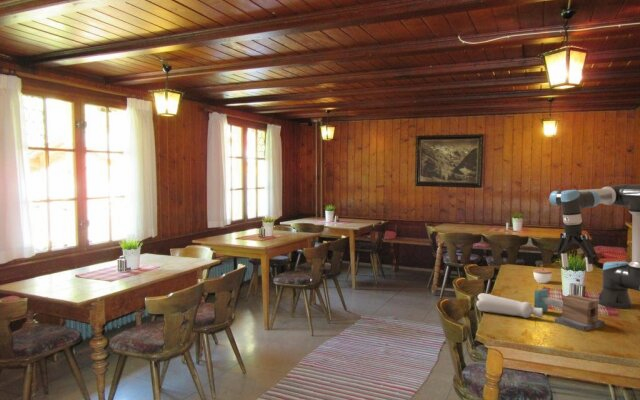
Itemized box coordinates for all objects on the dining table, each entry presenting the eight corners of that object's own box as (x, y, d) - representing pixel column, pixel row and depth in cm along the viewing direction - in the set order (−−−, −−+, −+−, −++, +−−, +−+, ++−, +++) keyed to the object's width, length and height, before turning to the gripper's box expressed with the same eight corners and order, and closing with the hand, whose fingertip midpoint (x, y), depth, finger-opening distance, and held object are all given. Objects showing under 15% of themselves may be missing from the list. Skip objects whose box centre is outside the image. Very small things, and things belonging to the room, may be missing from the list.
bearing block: (575, 317, 227) (576, 293, 226) (604, 325, 215) (605, 300, 214) (554, 322, 219) (555, 297, 218) (583, 331, 207) (584, 304, 206)
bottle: (474, 306, 233) (539, 318, 217) (478, 289, 237) (542, 300, 221) (478, 312, 240) (541, 325, 224) (481, 296, 244) (544, 307, 227)
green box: (544, 309, 237) (545, 288, 237) (578, 319, 221) (579, 297, 221) (534, 312, 233) (534, 290, 233) (568, 322, 218) (568, 299, 217)
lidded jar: (550, 285, 291) (551, 270, 290) (531, 282, 296) (532, 268, 296) (552, 281, 300) (552, 267, 299) (534, 279, 305) (534, 265, 305)
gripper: (545, 223, 224) (550, 266, 225) (589, 226, 201) (594, 274, 201) (558, 221, 227) (562, 264, 227) (602, 223, 203) (607, 271, 203)
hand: (577, 268), depth 214 cm, fingers open, 13 cm apart
